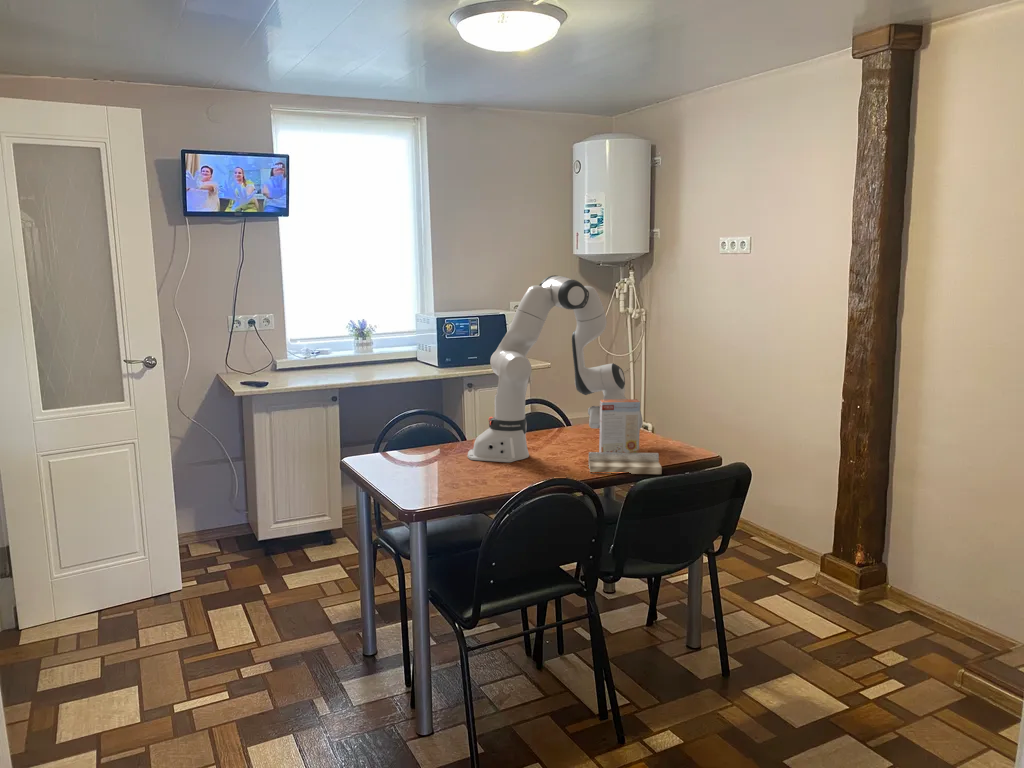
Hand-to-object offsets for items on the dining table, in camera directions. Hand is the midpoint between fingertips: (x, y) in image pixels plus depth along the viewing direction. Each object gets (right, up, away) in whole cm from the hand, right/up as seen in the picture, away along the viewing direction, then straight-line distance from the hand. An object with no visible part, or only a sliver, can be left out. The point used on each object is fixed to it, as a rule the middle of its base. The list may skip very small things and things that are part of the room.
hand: (616, 437), depth 291 cm
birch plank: (-1, -10, -26) cm, 28 cm away
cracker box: (0, -7, -6) cm, 9 cm away
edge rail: (-1, -9, -21) cm, 23 cm away
